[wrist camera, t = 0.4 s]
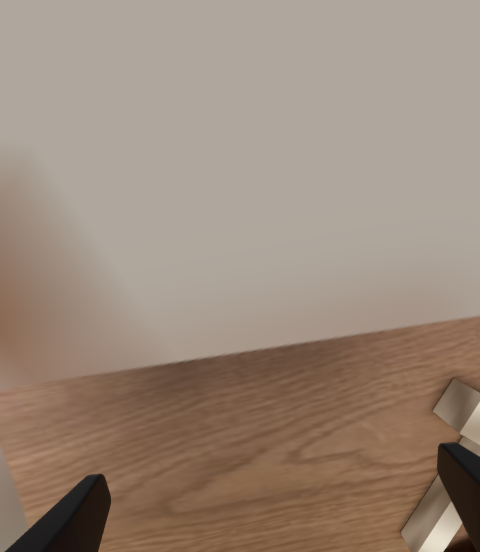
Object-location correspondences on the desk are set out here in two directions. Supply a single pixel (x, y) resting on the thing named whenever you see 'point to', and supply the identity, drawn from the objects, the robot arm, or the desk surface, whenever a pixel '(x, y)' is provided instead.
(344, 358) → the desk surface
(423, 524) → the frame
